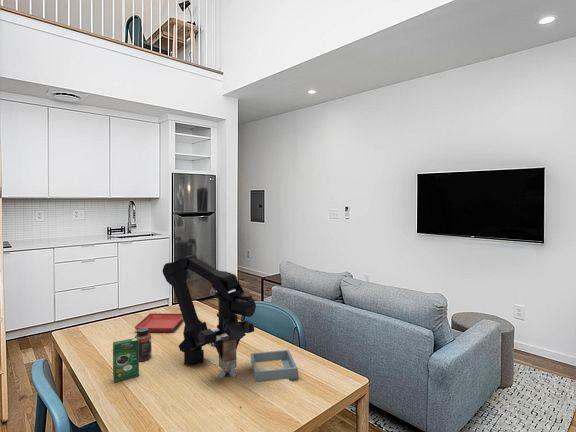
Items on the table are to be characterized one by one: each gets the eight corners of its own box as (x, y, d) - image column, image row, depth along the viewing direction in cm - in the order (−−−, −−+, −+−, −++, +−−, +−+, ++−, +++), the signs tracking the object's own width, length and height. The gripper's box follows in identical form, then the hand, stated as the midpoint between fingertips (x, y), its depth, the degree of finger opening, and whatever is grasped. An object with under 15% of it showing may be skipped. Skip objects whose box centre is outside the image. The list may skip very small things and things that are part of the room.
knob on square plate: (219, 380, 121) (219, 371, 121) (219, 372, 127) (219, 363, 126) (235, 379, 122) (235, 369, 122) (234, 371, 128) (234, 362, 127)
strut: (224, 371, 121) (224, 342, 120) (218, 366, 125) (218, 338, 124) (236, 367, 124) (236, 339, 123) (230, 362, 127) (230, 335, 127)
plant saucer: (173, 334, 161) (173, 327, 161) (133, 334, 162) (133, 327, 161) (185, 319, 179) (185, 313, 179) (149, 319, 180) (149, 313, 179)
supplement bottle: (155, 356, 139) (154, 327, 138) (143, 363, 134) (142, 333, 133) (143, 353, 142) (143, 325, 141) (131, 359, 136) (130, 330, 135)
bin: (255, 384, 119) (255, 372, 119) (250, 363, 133) (250, 353, 133) (297, 379, 122) (297, 368, 122) (288, 359, 136) (288, 349, 136)
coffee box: (138, 372, 127) (137, 336, 126) (140, 376, 124) (138, 339, 124) (113, 379, 122) (111, 341, 122) (114, 382, 120) (113, 344, 119)
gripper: (211, 324, 111) (212, 373, 112) (262, 312, 122) (262, 356, 123) (197, 314, 120) (198, 359, 121) (246, 303, 131) (246, 345, 132)
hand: (227, 355), depth 124 cm, fingers closed on strut, 4 cm apart
